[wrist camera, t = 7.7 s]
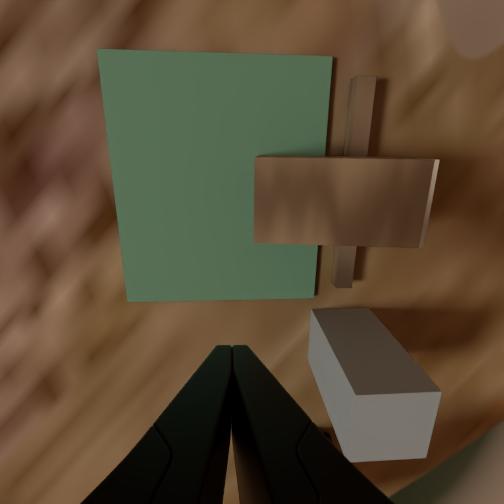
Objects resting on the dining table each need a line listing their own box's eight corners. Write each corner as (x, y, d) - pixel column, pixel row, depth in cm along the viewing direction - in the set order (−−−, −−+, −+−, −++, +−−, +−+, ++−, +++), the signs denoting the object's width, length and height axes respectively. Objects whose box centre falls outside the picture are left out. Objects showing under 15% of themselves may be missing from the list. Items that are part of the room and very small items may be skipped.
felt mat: (312, 296, 21) (313, 298, 21) (128, 300, 21) (127, 302, 20) (330, 57, 17) (332, 56, 17) (99, 50, 16) (96, 48, 16)
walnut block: (423, 248, 15) (253, 243, 16) (393, 227, 19) (257, 224, 19) (439, 159, 14) (254, 157, 14) (404, 157, 18) (258, 155, 18)
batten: (346, 281, 21) (351, 287, 20) (331, 282, 21) (336, 288, 20) (368, 80, 18) (376, 76, 17) (350, 79, 18) (357, 75, 17)
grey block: (361, 356, 23) (426, 457, 16) (307, 358, 23) (346, 462, 15) (368, 307, 22) (442, 391, 15) (311, 309, 22) (355, 395, 14)
